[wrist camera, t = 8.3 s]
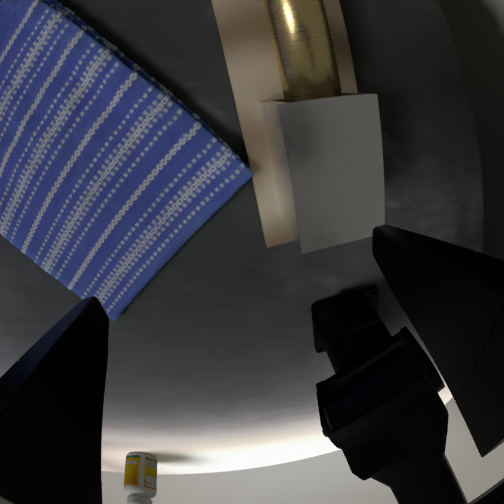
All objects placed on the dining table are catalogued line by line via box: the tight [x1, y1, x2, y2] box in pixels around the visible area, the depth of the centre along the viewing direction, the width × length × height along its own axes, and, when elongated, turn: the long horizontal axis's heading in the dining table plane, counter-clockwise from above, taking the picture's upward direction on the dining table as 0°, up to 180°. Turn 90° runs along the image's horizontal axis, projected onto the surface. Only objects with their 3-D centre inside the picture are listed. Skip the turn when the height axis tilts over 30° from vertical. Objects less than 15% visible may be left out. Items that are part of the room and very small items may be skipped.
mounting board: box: [211, 0, 357, 247], centre depth 15 cm, size 28×8×1 cm, turn 12°
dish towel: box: [0, 0, 254, 321], centre depth 16 cm, size 17×24×3 cm
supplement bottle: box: [124, 452, 157, 504], centre depth 35 cm, size 5×5×10 cm
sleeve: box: [260, 91, 385, 254], centre depth 17 cm, size 8×5×5 cm, turn 12°
